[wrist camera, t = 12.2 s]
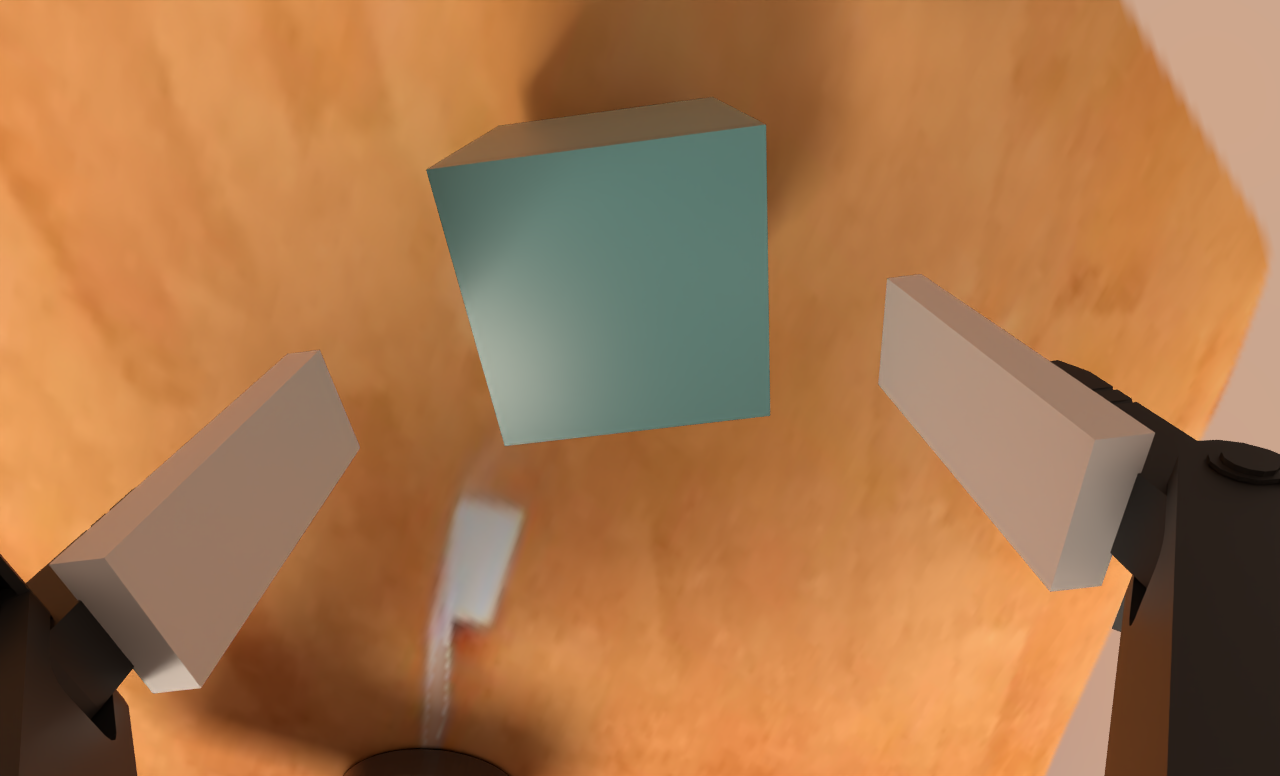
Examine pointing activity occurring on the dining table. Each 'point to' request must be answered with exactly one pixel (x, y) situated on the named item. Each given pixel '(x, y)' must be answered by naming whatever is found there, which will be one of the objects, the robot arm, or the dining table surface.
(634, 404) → the teal block
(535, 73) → the dining table surface
